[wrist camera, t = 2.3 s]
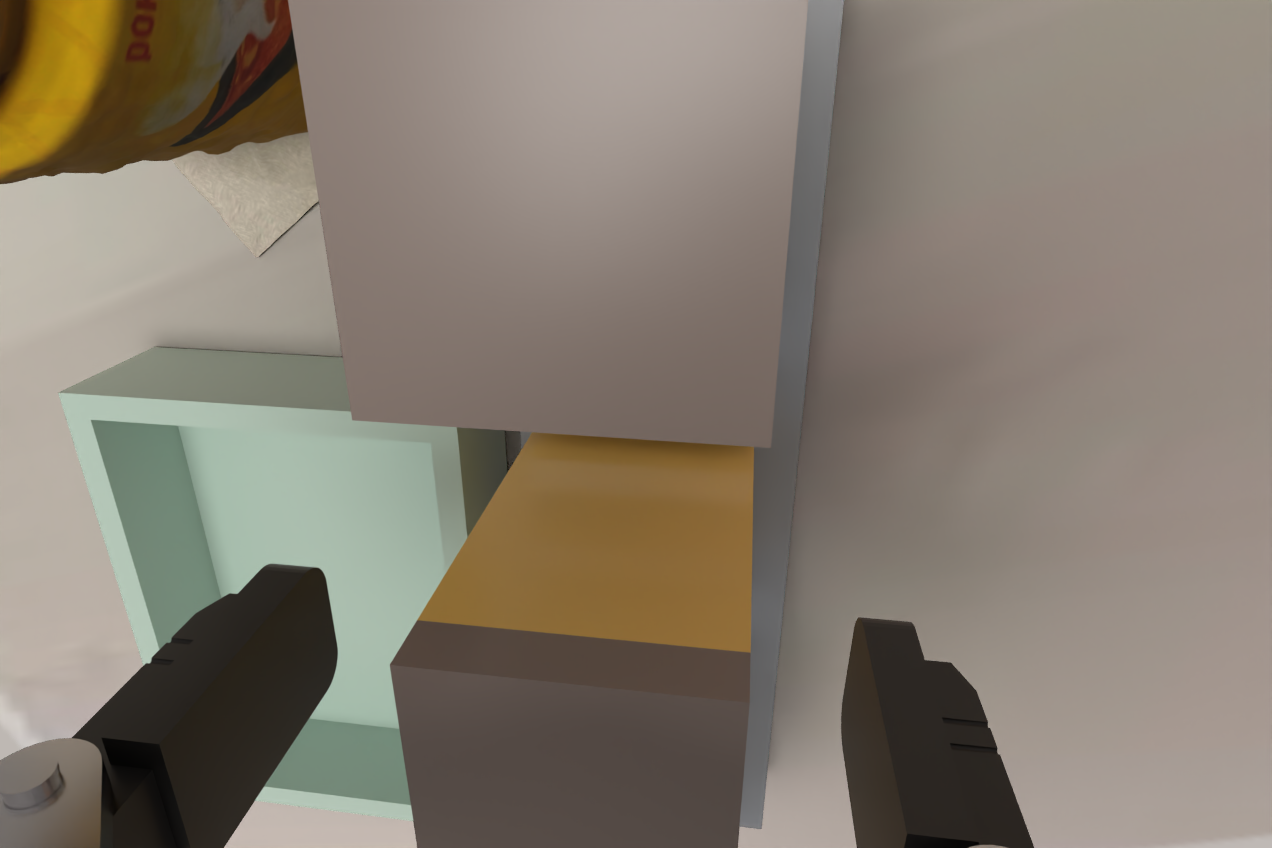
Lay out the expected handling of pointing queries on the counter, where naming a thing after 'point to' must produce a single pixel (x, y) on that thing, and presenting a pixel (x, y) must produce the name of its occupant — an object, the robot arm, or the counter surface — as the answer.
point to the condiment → (162, 100)
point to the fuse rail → (583, 230)
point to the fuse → (588, 654)
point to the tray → (283, 527)
